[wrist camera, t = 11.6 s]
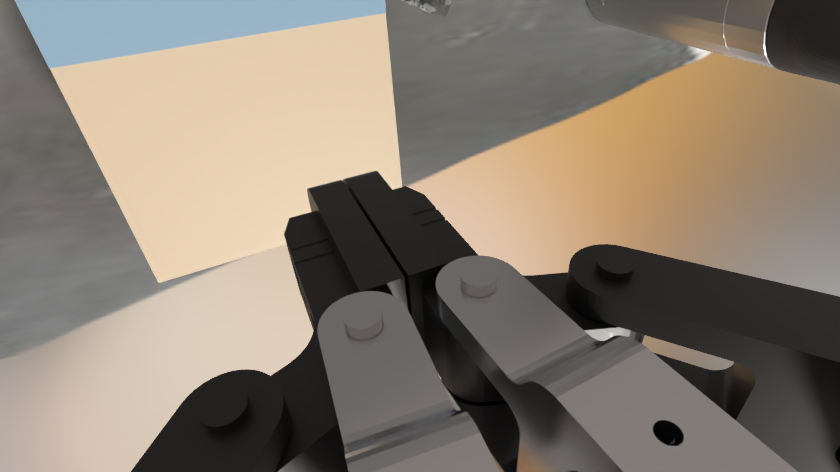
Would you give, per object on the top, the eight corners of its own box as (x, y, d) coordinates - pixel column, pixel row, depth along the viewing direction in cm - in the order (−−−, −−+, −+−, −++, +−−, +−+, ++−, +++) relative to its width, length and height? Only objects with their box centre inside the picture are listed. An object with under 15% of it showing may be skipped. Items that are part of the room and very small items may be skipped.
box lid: (373, -56, 26) (379, -54, 25) (399, 203, 35) (404, 208, 35) (13, -13, 21) (9, -10, 20) (158, 275, 30) (158, 284, 29)
